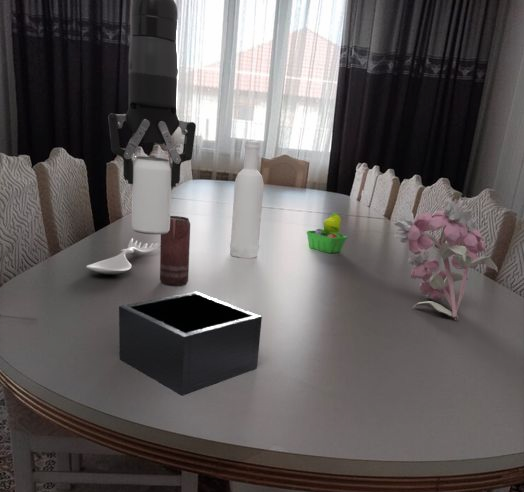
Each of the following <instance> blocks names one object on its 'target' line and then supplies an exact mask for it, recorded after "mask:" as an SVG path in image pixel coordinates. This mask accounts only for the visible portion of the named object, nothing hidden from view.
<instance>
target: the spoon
mask: <svg viewBox="0 0 524 492" xmlns="http://www.w3.org/2000/svg"><path fill="white" fill-rule="evenodd" d="M141 245H142V241H140V242H138V240H135V241H134V238H133V237H131V239H129V242H128V245H127V248H123V249H122V248H121V250H120V253H119V254H117V255H115V256H112V257H109V258H106V259H103V260H99V261H97V262H94V263H90V264H87V265H86V267H85V268H87V269H88V270H90V271H92V272H94V273H97V274H98V273H99V274H102V275H118V274H119V275H120V274H123V273H125V272H128V271H129V270H130V269H131V268H132V264H131V262H129V260H128V258H127V257H126V255H130V254H135V255H147V254H151V253H153V252H154V251H157V249H159V248H160V246H161V241H160V242H159V243H158V242H156V243H153V242H152V243H150V245H149V246H148V243H147V242H146V243H144V244H143V245H142V246H141Z"/></svg>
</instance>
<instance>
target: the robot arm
mask: <svg viewBox="0 0 524 492" xmlns="http://www.w3.org/2000/svg"><path fill="white" fill-rule="evenodd" d="M178 12H179V11H178V6H177V3H176V1H175V0H130V20H129V21H130V26H129V27H130V31H129V33H130V35H129V36H130V39H129V42H130V43H129V48H128V64H127V65H128V66H127V67H128V108H127V111H126V113H123V114H121V113H120V114H118V113H113V112H111V113H109V114H108V117H107V118H108V129H109V139H110V147H111V148H110V151H111V153H112V154H114V155H117V156H119V157H121V158H122V161H123V163H122V165H123V166H122V167H123V170H122V171H123V172H122V173H123V174H122V175H123V179H124V180H125V181H127V185H132V184H133V163H134V160H133V159H132V157H133V155H134V153H135V151H136V149H138V147H139V145H140V143H144V144H151V143H154V144H157V145H164V147H165V149H166V151H167V153H168V155H169V157H170V159H171V162H170V163H169V165H170V167H171V188H177V184H178V185H179V184H180V181H181V164H183V163H184V162H189V161H191V160H192V158H193V151H194V144H195V137H196V128H197V125H196V123H195V122H193V121H183V120H180V118H179V117H178V82H179V81H178V80H179V75H180V73H179V54H178V52H179V51H178V30H179V29H178V28H179V13H178ZM124 122H126V123H127V125H128V126H129V129H131V131H132V132H133V133H132V135H131V137H130V139H129V141H128V143H127V145H126V146H125V148H122V147H121V146H120V136H119V129H122V128H123V125H124ZM178 128H180V131H181V134H182V135H183V136H184V137H183V138H184V140H183V147H182V152H181V153H179V151H178V149H177V147H176V144H175V141H174V140H173V137H172V136H173V135H174V134H175V132H176V131H177V129H178Z"/></svg>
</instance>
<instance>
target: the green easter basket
mask: <svg viewBox="0 0 524 492" xmlns="http://www.w3.org/2000/svg"><path fill="white" fill-rule="evenodd" d="M340 216H341V215H340V214H339V213H336V212H333V213H332V214H331V215H330V216H329V217H328V218H326V219H325V220H324V221H323V229H322V228H317V229H316V230H306V231H305V233H306V235H307V241H308V248H309V249H314V250H317V251H320V252H324V253H328V254H335V253H341V251H342V249H343V247H344V245H345V242H346V240H347V239H348V236H347V235H343V234H340V233H339V232H340V230H341V223H342V219H341V217H340Z"/></svg>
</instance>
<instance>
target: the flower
mask: <svg viewBox="0 0 524 492" xmlns="http://www.w3.org/2000/svg"><path fill="white" fill-rule="evenodd" d="M463 198H464V199H461V200H460V199H456V198H455V199H454V200H453V198H452V196H450V197H448V198H447V199H445V201H444V203H443V206H444V208H445V210H436V211H435V212H434V213H433V214H432V215H431V213H430V212H422V213H421V214H419V215H417V217H416V218H414V213H413V212H411V211H405V212H402V215H403V217H401V219H400V218H398V220H397V221H396V222H395V221H392V223H393V225H395V227H398V228H396V230H397V231H396V232H395V234H394V238H396V239H399V240H398V241H399V242H400V243H403V244H406V243H407V244H408V250H409V251H410V253H412V255H410V257H407V260H408V263H409V265H411V266H415V267H414V268H413V269H412V270H411V272H410V278H411V279H413V280H416V279H418V280H422V281H423V282H420V283H419V286H418V287H419V291H420V293H421V294H423V295H426V296H425V298H429V299H431V301H430V300H429V301H420V302H419V301H418V302H417V303H415V304H414V305H413V307H412V309H414V308H416V307H418V306H421V307H423V306H425V307H428V308H432V309H434V310H435V311H437V313H441V314H446V315H448V316H449V317H451V318H453V319H454V320H455V321H457V322H458V323H459V321H460V320H459V316H458V311H459V308H460V306H461V303H462V300H463V298H464V295H465V292H466V287H467V280H468V281H469V278H468V270H469V268H470V269H473V268H476V267H477V266H478V265H485V266H487V267H488V268H489V269H491V270H495V272H496V273H498V272H499V271H498V266H497V265H496V264H495V263H494V261H493V260H492V259H491V257H490V256H480V255H478V254H477V253H481V252H484V251H486V243H485V242H484V241H483V236H482V233H481V232H480V231H479V230H477V228H478V227H479V224H478V222H479V221H478V220H479V215H477V216H476V217H475V218H474V219H473V217H474V215H472V212H473V208H471V207H468V205H467V204H465V202H466V199H467V198H466V196H464V197H463ZM464 204H465V205H464ZM467 207H468V208H467ZM444 227H445V228H444ZM442 228H444V230H443V232H442V236H441V240H440V242H439V241H438V240H437V239H436V238H435V237H434V236H433V235H432V234H430V233H428V231H430V232H432V233H433V232H436V231H438V230H440V229H442ZM445 241H446V242H445ZM444 242H445V243H444ZM433 243H434V244H436V246H437V248H438V252H439V254H440V256H441V258H442V260H443V265H444V269H445V271H444V270H439V269H438V268H440V263H439V261H438V260H437V259H429V257H430V252H429V251H428V249H430V248H431V247H432V246H433ZM421 250H423V251H421ZM450 257H452V258H451V261H450V259H449V258H450ZM428 259H429V260H428ZM450 262H451V264H450ZM451 266H452V267H453V268H455V269H456V270H463V273H462V274H461V273H458V272H454V271H452V270H451ZM437 270H438V271H437ZM458 281H461V284H460V291H459V296H458V299H457V302H456V295H455V287H454V283H455V282H458ZM443 295H444V296H445V298H446V300H447V302H448V304H449V307H450V309H451V310H450V309H447V308H446V307H444V306H443V305H442V304H439V303H438V302H435V301H436V300H441V299H442V298H443Z"/></svg>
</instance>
